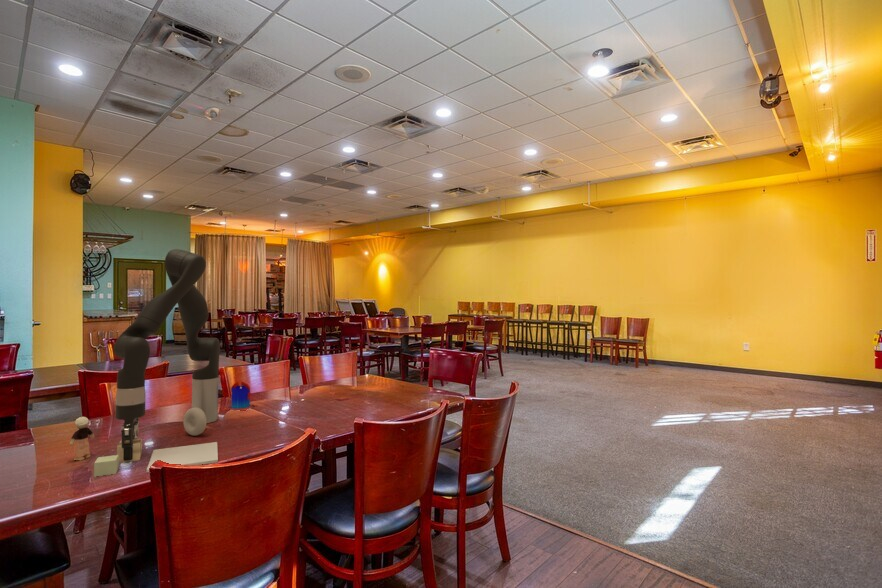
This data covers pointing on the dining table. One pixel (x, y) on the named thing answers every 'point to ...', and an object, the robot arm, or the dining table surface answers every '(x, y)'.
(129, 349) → the robot arm
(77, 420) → the grandmother figurine
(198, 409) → the donut
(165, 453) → the base plate
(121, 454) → the birch block
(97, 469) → the sage block
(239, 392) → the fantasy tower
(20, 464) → the dining table surface
